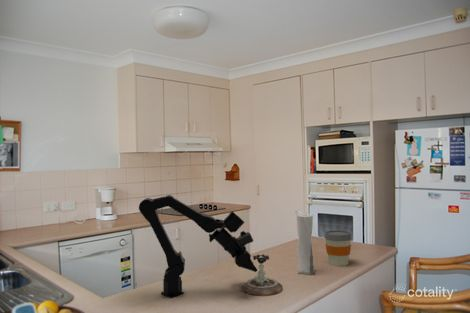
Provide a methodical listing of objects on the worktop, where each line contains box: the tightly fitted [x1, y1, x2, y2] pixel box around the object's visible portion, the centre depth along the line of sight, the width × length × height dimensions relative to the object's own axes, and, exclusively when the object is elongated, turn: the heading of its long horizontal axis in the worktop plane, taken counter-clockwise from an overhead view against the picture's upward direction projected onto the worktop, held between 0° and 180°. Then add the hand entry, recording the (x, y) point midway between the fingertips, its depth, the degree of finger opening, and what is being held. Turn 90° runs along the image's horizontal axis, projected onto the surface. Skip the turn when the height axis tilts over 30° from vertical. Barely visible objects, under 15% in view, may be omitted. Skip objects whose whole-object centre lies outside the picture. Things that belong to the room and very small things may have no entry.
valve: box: [252, 253, 270, 287], centre depth 152 cm, size 7×7×12 cm
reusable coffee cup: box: [324, 230, 352, 267], centre depth 186 cm, size 13×13×15 cm
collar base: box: [241, 277, 283, 297], centre depth 152 cm, size 16×16×2 cm
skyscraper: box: [295, 210, 317, 276], centre depth 173 cm, size 8×8×28 cm
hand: (254, 267), depth 152 cm, fingers open, 9 cm apart
